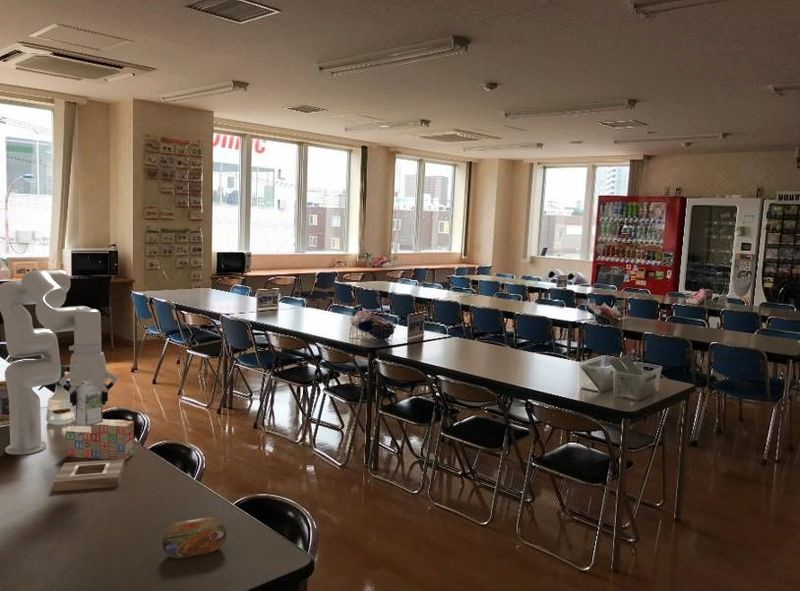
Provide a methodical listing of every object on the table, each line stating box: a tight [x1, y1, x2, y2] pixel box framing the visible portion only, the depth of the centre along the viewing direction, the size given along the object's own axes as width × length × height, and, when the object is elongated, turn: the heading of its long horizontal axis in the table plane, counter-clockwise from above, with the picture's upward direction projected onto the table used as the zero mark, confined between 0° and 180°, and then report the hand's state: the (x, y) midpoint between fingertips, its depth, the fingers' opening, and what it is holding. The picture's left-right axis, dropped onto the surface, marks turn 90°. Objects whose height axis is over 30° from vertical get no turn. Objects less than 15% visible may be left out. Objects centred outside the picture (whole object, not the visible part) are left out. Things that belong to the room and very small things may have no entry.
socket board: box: [52, 459, 125, 492], centre depth 205 cm, size 16×18×3 cm
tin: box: [161, 516, 227, 559], centre depth 161 cm, size 15×3×8 cm, turn 114°
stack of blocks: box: [65, 418, 135, 461], centre depth 226 cm, size 21×6×12 cm, turn 85°
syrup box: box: [75, 380, 104, 427], centre depth 203 cm, size 6×6×14 cm
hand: (89, 404), depth 203 cm, fingers closed on syrup box, 8 cm apart
